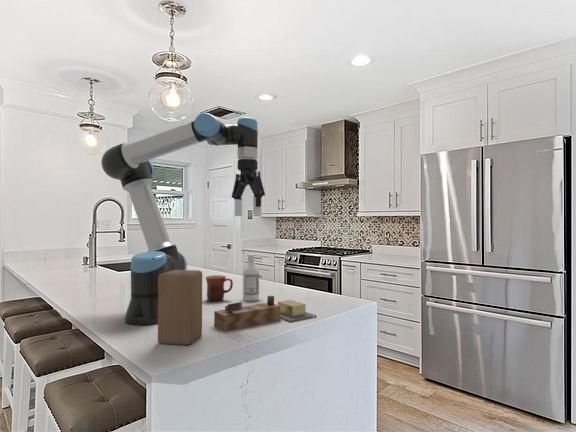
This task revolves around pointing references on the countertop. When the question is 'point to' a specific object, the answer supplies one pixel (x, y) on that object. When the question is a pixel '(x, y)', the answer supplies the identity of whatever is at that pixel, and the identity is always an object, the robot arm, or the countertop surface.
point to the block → (179, 306)
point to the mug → (216, 287)
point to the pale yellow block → (292, 308)
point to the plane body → (247, 316)
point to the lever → (234, 307)
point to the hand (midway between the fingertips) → (247, 216)
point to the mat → (290, 319)
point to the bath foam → (251, 280)
